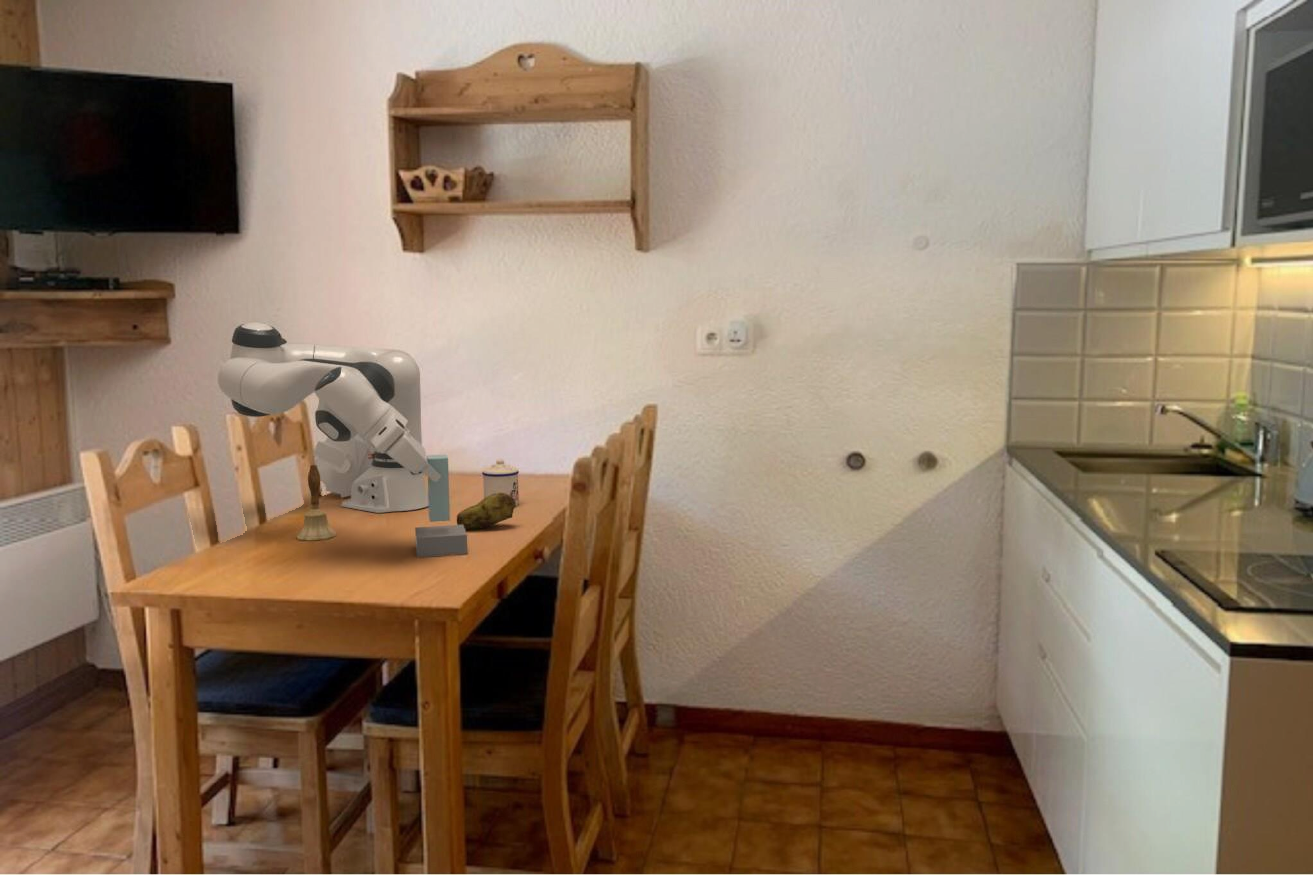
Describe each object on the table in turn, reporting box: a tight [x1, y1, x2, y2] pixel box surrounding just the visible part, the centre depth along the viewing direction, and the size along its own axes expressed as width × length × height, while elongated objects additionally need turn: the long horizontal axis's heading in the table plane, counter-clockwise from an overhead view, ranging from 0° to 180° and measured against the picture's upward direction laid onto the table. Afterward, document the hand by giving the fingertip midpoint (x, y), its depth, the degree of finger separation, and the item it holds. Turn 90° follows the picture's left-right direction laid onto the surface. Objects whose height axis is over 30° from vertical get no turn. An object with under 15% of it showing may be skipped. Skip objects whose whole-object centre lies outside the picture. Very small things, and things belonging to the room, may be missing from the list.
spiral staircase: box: [312, 434, 376, 499], centre depth 282 cm, size 18×18×25 cm
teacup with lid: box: [481, 459, 520, 507], centre depth 263 cm, size 12×9×12 cm
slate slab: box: [414, 524, 468, 558], centre depth 217 cm, size 10×10×4 cm
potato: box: [456, 493, 516, 530], centre depth 237 cm, size 8×13×8 cm, turn 87°
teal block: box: [426, 454, 451, 523], centre depth 215 cm, size 4×5×13 cm
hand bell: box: [296, 464, 337, 542], centre depth 229 cm, size 8×8×16 cm
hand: (437, 476), depth 215 cm, fingers closed on teal block, 5 cm apart
